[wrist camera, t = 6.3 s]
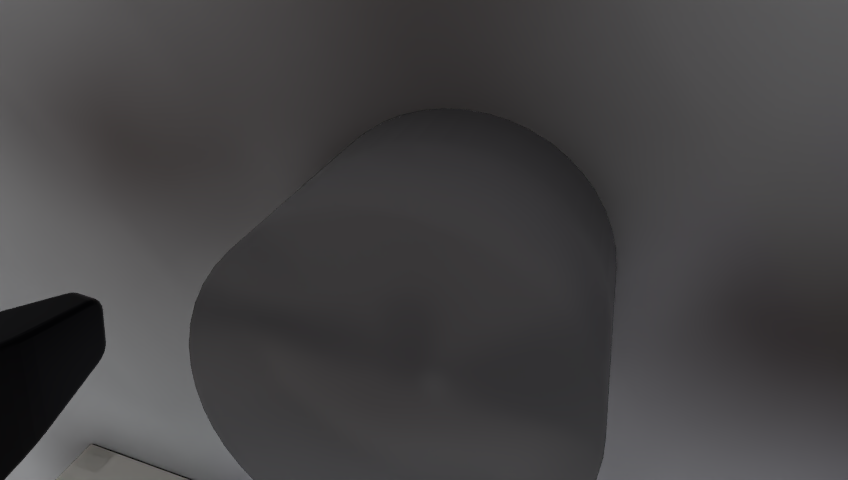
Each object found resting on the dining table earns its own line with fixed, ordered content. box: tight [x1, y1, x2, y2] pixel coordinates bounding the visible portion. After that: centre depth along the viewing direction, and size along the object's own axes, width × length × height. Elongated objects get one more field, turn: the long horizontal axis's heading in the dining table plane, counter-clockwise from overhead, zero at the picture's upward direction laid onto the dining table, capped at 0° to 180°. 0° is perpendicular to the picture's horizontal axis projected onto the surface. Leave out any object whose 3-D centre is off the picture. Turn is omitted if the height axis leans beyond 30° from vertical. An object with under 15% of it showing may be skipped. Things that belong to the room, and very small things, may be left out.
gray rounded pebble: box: [189, 109, 616, 480], centre depth 11 cm, size 6×6×4 cm
